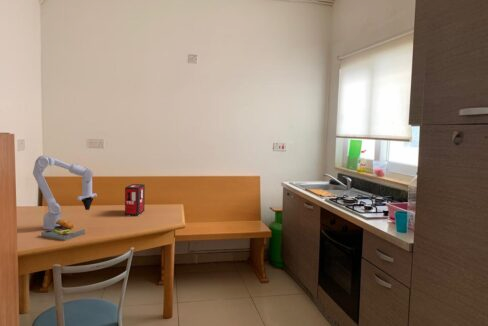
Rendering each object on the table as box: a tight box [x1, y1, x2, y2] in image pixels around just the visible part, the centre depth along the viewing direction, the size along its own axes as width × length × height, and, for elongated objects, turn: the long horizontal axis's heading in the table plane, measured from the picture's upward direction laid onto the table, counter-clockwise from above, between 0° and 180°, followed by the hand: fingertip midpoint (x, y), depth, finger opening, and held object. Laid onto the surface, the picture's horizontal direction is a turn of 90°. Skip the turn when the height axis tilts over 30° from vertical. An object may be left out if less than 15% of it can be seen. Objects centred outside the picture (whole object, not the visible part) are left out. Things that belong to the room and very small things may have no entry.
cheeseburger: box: [52, 219, 74, 235], centre depth 212 cm, size 10×11×10 cm
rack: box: [40, 229, 86, 241], centre depth 212 cm, size 17×14×3 cm
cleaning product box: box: [124, 183, 146, 217], centre depth 269 cm, size 16×9×20 cm, turn 179°
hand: (87, 209), depth 233 cm, fingers closed
